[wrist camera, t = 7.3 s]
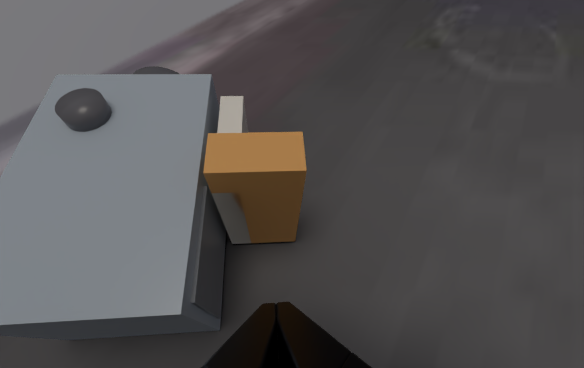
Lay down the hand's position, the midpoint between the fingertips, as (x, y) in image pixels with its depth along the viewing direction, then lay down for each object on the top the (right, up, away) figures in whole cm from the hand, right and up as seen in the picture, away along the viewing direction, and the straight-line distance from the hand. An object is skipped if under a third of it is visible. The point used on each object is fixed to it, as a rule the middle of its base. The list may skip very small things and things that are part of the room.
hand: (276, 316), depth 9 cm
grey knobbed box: (-8, +2, +11) cm, 13 cm away
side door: (-2, +3, +11) cm, 11 cm away
